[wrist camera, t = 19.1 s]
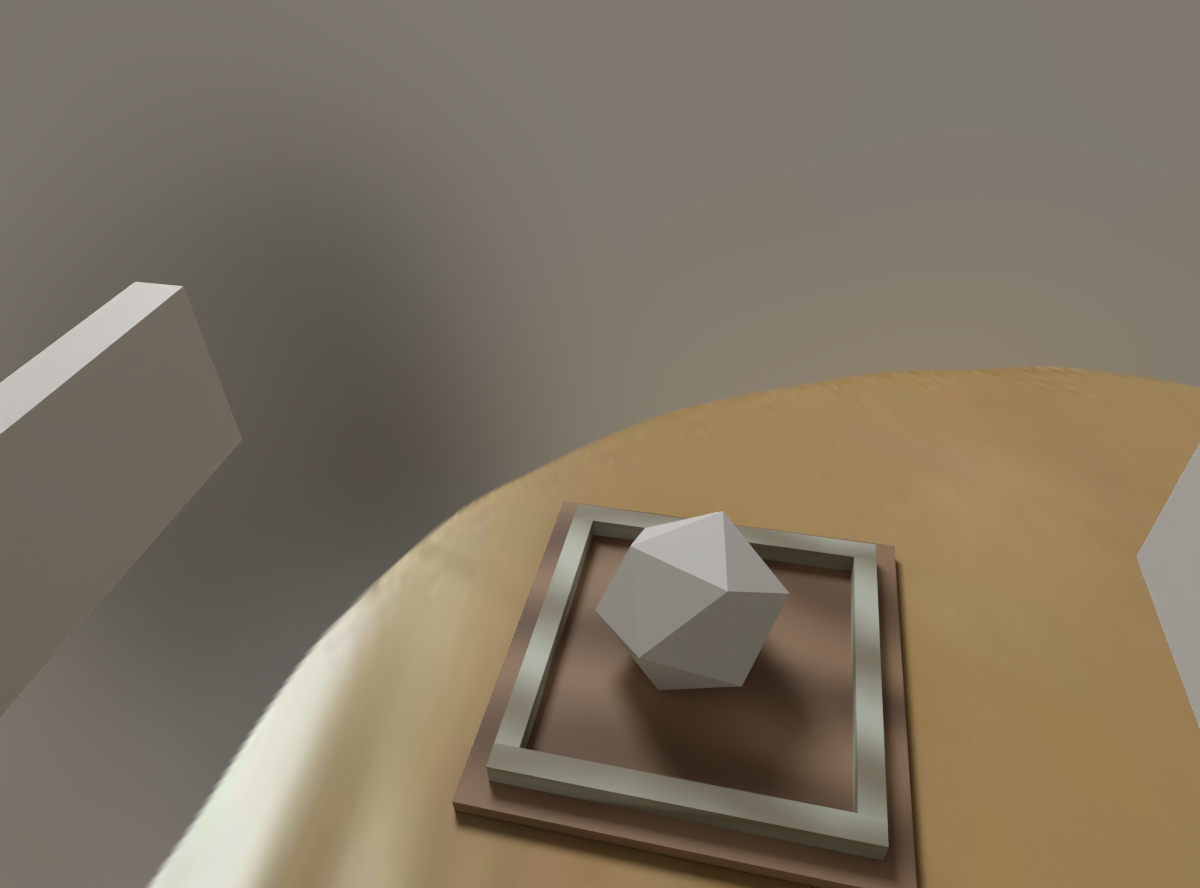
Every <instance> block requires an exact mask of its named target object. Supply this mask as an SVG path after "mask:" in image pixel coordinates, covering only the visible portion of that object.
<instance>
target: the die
mask: <svg viewBox="0 0 1200 888" xmlns="http://www.w3.org/2000/svg"><path fill="white" fill-rule="evenodd" d="M788 596H789V592H788V591H787V590H786V589H785V587H784V586H783V585H782V584H781V582H780V581H779V580H778V579H777V577H776V576H775V575H774V574H773V572H772V571H771V570H770V569H769V567H768V566H767V565H766V564H765V562H764V561H763V560H762V559H761V558H760V556H759V555H758V554H757V553H756V551H755V550H754V549H753V548H752V546H751V545H750V544H749V543H748V541H747V540H746V539H745V538H744V536H743V535H742V534H741V533H740V531H739V530H738V529H737V528H736V527H735V525H734V524H733V523H732V522H731V520H730V519H729V518H728V517H727V515H726V514H725V513H724V512H723V511H721V512H716V513H712V514H707V515H703V516H698V517H693V518H689V519H684V520H680V521H675V522H671V523H666V524H661V525H657V526H652V527H648V528H645V529H644V530H643V531H642V532H641V533H640V535H639V536H638V537H637V538H636V540H635V541H634V542H633V543H632V545H631V546H630V547H629V549H628V551H627V553H626V555H625V557H624V558H623V560H622V562H621V564H620V566H619V567H618V569H617V571H616V573H615V575H614V576H613V578H612V580H611V582H610V584H609V585H608V587H607V589H606V591H605V593H604V595H603V596H602V598H601V600H600V602H599V604H598V605H597V607H596V609H595V611H596V612H597V613H598V614H599V616H600V617H601V618H602V619H603V621H604V622H605V623H606V625H607V626H608V627H609V628H610V630H611V631H612V632H613V633H614V635H615V636H616V637H617V639H618V640H619V641H620V642H621V644H622V645H623V646H624V647H625V649H626V650H627V651H628V653H629V654H630V655H631V656H632V658H633V659H634V660H635V662H636V663H637V664H638V665H639V667H640V668H641V669H642V670H643V672H644V673H645V674H646V676H647V677H648V678H649V679H650V681H651V682H652V683H653V684H654V686H655V687H656V688H657V690H674V689H695V688H717V687H738V686H742V685H743V683H744V681H745V679H746V677H747V675H748V673H749V671H750V669H751V668H752V666H753V664H754V662H755V660H756V658H757V656H758V654H759V652H760V650H761V648H762V646H763V644H764V642H765V640H766V638H767V636H768V634H769V633H770V631H771V629H772V627H773V625H774V623H775V621H776V619H777V617H778V615H779V613H780V611H781V609H782V607H783V605H784V603H785V601H786V599H787V598H788Z"/></svg>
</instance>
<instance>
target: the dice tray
mask: <svg viewBox="0 0 1200 888" xmlns="http://www.w3.org/2000/svg"><path fill="white" fill-rule="evenodd" d="M684 519H689V518H683V517H676V516H668V515H661V514H654V513H646V512H639V511H631V510H624V509H617V508H609V507H602V506H594V505H587V504H580V503H572V502H565V501H564V502H563V505H562V508H561V510H560V513H559V516H558V518H557V521H556V524H555V526H554V529H553V532H552V534H551V537H550V540H549V542H548V545H547V548H546V551H545V553H544V556H543V559H542V561H541V564H540V567H539V569H538V572H537V575H536V577H535V580H534V583H533V586H532V588H531V591H530V594H529V596H528V599H527V602H526V604H525V607H524V610H523V612H522V615H521V618H520V620H519V623H518V626H517V629H516V631H515V634H514V637H513V639H512V642H511V645H510V647H509V650H508V653H507V655H506V658H505V661H504V664H503V666H502V669H501V672H500V674H499V677H498V680H497V682H496V685H495V688H494V690H493V693H492V696H491V699H490V701H489V704H488V707H487V709H486V712H485V715H484V717H483V720H482V723H481V725H480V728H479V731H478V733H477V736H476V739H475V742H474V744H473V747H472V750H471V752H470V755H469V758H468V760H467V763H466V766H465V768H464V771H463V774H462V777H461V779H460V782H459V785H458V787H457V790H456V793H455V795H454V798H453V801H452V803H453V806H454V810H455V811H460V812H464V813H469V814H474V815H479V816H483V817H488V818H493V819H497V820H502V821H507V822H512V823H516V824H521V825H526V826H531V827H535V828H540V829H545V830H549V831H554V832H559V833H564V834H568V835H573V836H578V837H582V838H587V839H592V840H597V841H601V842H606V843H611V844H615V845H620V846H625V847H630V848H634V849H639V850H644V851H648V852H653V853H658V854H663V855H667V856H672V857H677V858H682V859H686V860H691V861H696V862H700V863H705V864H710V865H715V866H719V867H724V868H729V869H733V870H738V871H743V872H748V873H752V874H757V875H762V876H766V877H771V878H776V879H781V880H785V881H790V882H795V883H799V884H804V885H809V886H814V887H818V888H917V881H916V866H915V851H914V836H913V821H912V806H911V791H910V776H909V761H908V746H907V731H906V716H905V701H904V686H903V671H902V656H901V641H900V626H899V611H898V596H897V581H896V566H895V551H894V546H890V545H882V544H875V543H868V542H860V541H853V540H845V539H838V538H831V537H823V536H816V535H809V534H801V533H794V532H786V531H779V530H772V529H764V528H757V527H750V526H742V525H735V524H734V525H735V527H736V528H737V529H738V530H739V531H740V533H741V534H742V535H743V536H744V538H745V539H746V540H747V541H748V543H749V544H750V545H751V546H752V548H753V549H754V550H755V551H756V553H757V554H758V555H759V556H760V558H761V559H762V560H763V561H764V562H765V564H766V565H767V566H768V567H769V569H770V570H771V571H772V572H773V574H774V575H775V576H776V577H777V579H778V580H779V581H780V582H781V584H782V585H783V586H784V587H785V589H786V590H787V591H788V592H789V596H788V598H787V599H786V601H785V603H784V605H783V607H782V609H781V611H780V613H779V615H778V617H777V619H776V621H775V623H774V625H773V627H772V629H771V631H770V633H769V634H768V636H767V638H766V640H765V642H764V644H763V646H762V648H761V650H760V652H759V654H758V656H757V658H756V660H755V662H754V664H753V666H752V668H751V669H750V671H749V673H748V675H747V677H746V679H745V681H744V683H743V685H742V686H738V687H717V688H695V689H674V690H657V688H656V687H655V686H654V684H653V683H652V682H651V681H650V679H649V678H648V677H647V676H646V674H645V673H644V672H643V670H642V669H641V668H640V667H639V665H638V664H637V663H636V662H635V660H634V659H633V658H632V656H631V655H630V654H629V653H628V651H627V650H626V649H625V647H624V646H623V645H622V644H621V642H620V641H619V640H618V639H617V637H616V636H615V635H614V633H613V632H612V631H611V630H610V628H609V627H608V626H607V625H606V623H605V622H604V621H603V619H602V618H601V617H600V616H599V614H598V613H597V612H596V611H595V609H596V607H597V605H598V604H599V602H600V600H601V598H602V596H603V595H604V593H605V591H606V589H607V587H608V585H609V584H610V582H611V580H612V578H613V576H614V575H615V573H616V571H617V569H618V567H619V566H620V564H621V562H622V560H623V558H624V557H625V555H626V553H627V551H628V549H629V547H630V546H631V545H632V543H633V542H634V541H635V540H636V538H637V537H638V536H639V535H640V533H641V532H642V531H643V530H644V529H645V528H648V527H652V526H657V525H661V524H666V523H671V522H675V521H680V520H684Z"/></svg>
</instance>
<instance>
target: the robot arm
mask: <svg viewBox="0 0 1200 888" xmlns="http://www.w3.org/2000/svg"><path fill="white" fill-rule="evenodd" d="M241 440H242V438H241V435H240V433H239V430H238V428H237V425H236V422H235V420H234V417H233V415H232V412H231V409H230V407H229V404H228V401H227V399H226V396H225V394H224V391H223V389H222V386H221V383H220V381H219V378H218V376H217V373H216V370H215V368H214V365H213V362H212V360H211V357H210V355H209V352H208V350H207V347H206V344H205V342H204V339H203V337H202V334H201V331H200V329H199V326H198V324H197V321H196V318H195V316H194V313H193V311H192V308H191V305H190V303H189V300H188V298H187V295H186V293H185V290H184V287H183V286H174V285H163V284H152V283H142V282H135V283H133V284H132V285H131V286H129V287H128V288H127V289H125V290H124V291H123V292H121V293H120V294H118V295H117V296H116V297H114V298H113V299H112V300H110V301H109V302H108V303H107V304H105V305H104V306H102V307H101V308H100V309H98V310H97V311H96V312H95V313H93V314H92V315H90V316H89V317H88V318H87V319H85V320H84V321H82V322H81V323H80V324H78V325H77V326H76V327H74V328H73V329H72V330H70V331H69V332H68V333H66V334H65V335H64V336H62V337H61V338H60V339H58V340H57V341H56V342H54V343H53V344H52V345H50V346H49V347H48V348H46V349H45V350H44V351H42V352H41V353H40V354H38V355H37V356H36V357H34V358H33V359H32V360H30V361H29V362H28V363H26V364H25V365H23V366H22V367H21V368H19V369H18V370H17V371H15V372H14V373H13V374H11V375H10V376H9V377H7V378H6V379H5V380H3V381H2V382H1V383H0V716H1V715H2V714H3V713H4V711H5V710H6V709H7V708H8V707H9V706H10V704H11V703H12V702H13V701H14V700H15V699H16V697H18V695H19V694H20V693H21V692H22V691H23V690H24V689H25V687H26V686H27V685H28V684H29V683H30V682H31V680H32V679H33V678H34V677H35V676H36V675H37V674H38V672H39V671H40V670H41V669H42V668H43V667H44V666H45V664H46V663H47V662H48V661H49V660H50V659H51V658H52V656H53V655H54V654H55V653H56V652H57V651H58V650H59V648H60V647H61V646H62V645H63V644H64V643H65V642H66V641H67V639H68V638H69V637H70V636H71V635H72V634H73V632H74V631H75V630H76V629H77V628H78V627H79V626H80V625H81V623H82V622H83V621H84V620H85V619H86V618H87V617H88V615H89V614H90V613H91V612H92V611H93V609H95V607H96V606H97V605H98V604H99V603H100V602H101V600H102V599H103V598H104V597H105V596H106V595H107V594H108V592H109V591H110V590H111V589H112V588H113V587H114V586H115V585H116V583H117V582H118V581H119V580H120V579H121V578H122V576H123V575H124V574H125V573H126V572H127V571H128V570H129V568H130V567H131V566H132V565H133V564H134V563H135V561H137V559H138V558H139V557H140V556H141V555H142V554H143V552H144V551H145V550H146V549H147V548H148V547H149V546H150V544H151V543H152V542H153V541H154V540H155V539H156V538H157V536H158V535H159V534H160V533H161V532H162V531H163V530H164V528H165V527H166V526H167V525H168V524H169V523H170V522H171V520H172V519H173V518H174V517H175V516H176V515H177V514H178V512H179V511H180V510H181V509H182V508H183V507H184V506H185V504H186V503H187V502H188V501H189V500H190V499H191V498H192V496H193V495H194V494H195V493H196V492H197V491H198V489H199V488H200V487H201V486H202V485H203V484H204V483H205V482H206V480H207V479H208V478H209V477H210V476H211V474H213V472H214V471H215V470H216V469H217V468H218V467H219V465H220V464H221V463H222V462H223V461H224V460H225V459H226V457H227V456H228V455H229V454H230V453H231V452H232V451H233V450H234V448H235V447H236V446H237V445H238V444H239V443H240V441H241ZM1136 557H1137V560H1138V563H1139V565H1140V568H1141V571H1142V573H1143V576H1144V579H1145V582H1146V584H1147V587H1148V590H1149V592H1150V595H1151V598H1152V601H1153V603H1154V606H1155V609H1156V611H1157V614H1158V617H1159V620H1160V622H1161V625H1162V628H1163V631H1164V633H1165V636H1166V639H1167V641H1168V644H1169V647H1170V650H1171V652H1172V655H1173V658H1174V660H1175V663H1176V666H1177V669H1178V671H1179V674H1180V677H1181V680H1182V682H1183V685H1184V688H1185V690H1186V693H1187V696H1188V699H1189V701H1190V704H1191V707H1192V709H1193V712H1194V715H1195V718H1196V720H1197V723H1198V726H1199V728H1200V443H1199V445H1198V447H1197V448H1196V450H1195V452H1194V454H1193V456H1192V457H1191V459H1190V461H1189V463H1188V465H1187V466H1186V468H1185V470H1184V472H1183V474H1182V475H1181V477H1180V479H1179V481H1178V483H1177V484H1176V486H1175V488H1174V490H1173V492H1172V493H1171V495H1170V497H1169V499H1168V501H1167V502H1166V504H1165V506H1164V508H1163V510H1162V511H1161V513H1160V515H1159V517H1158V519H1157V520H1156V522H1155V524H1154V526H1153V528H1152V529H1151V531H1150V533H1149V535H1148V537H1147V538H1146V540H1145V542H1144V544H1143V545H1142V547H1141V549H1140V551H1139V553H1138V554H1137V556H1136Z"/></svg>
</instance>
